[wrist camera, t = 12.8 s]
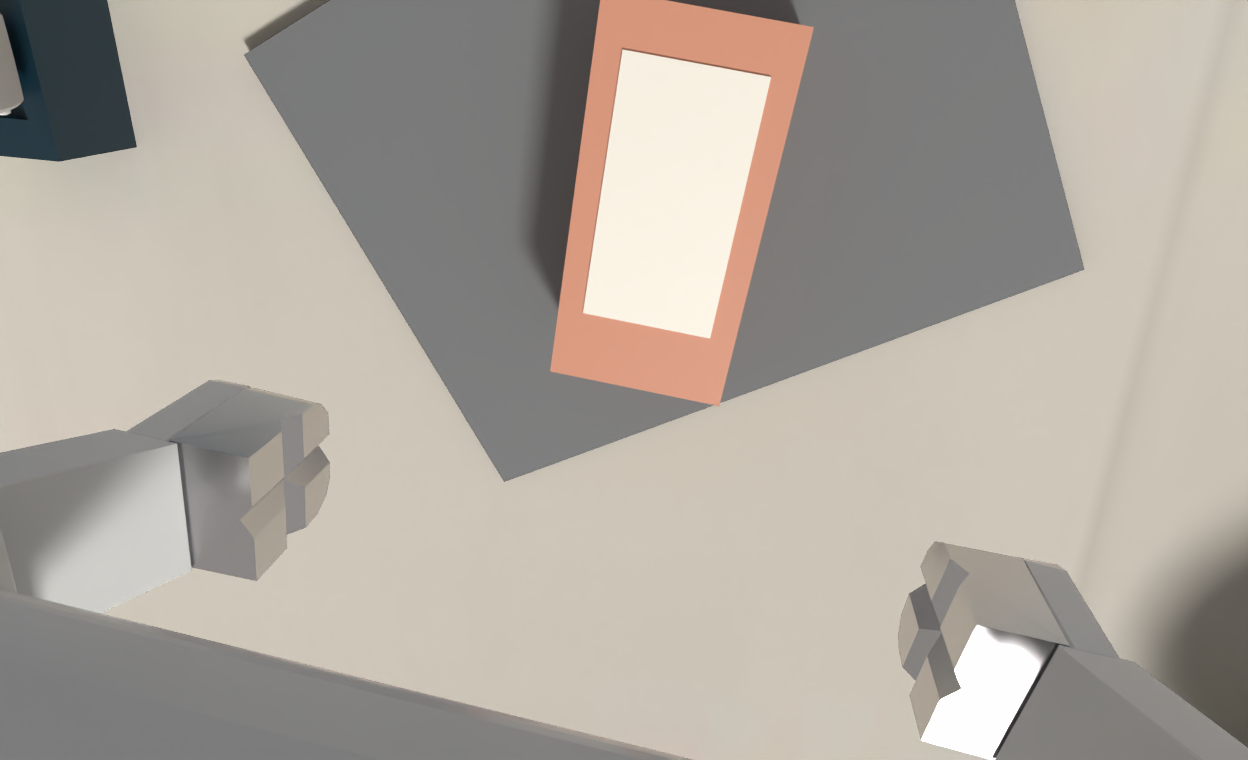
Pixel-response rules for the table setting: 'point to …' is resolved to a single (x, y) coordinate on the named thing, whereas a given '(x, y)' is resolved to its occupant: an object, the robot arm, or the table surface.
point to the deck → (673, 192)
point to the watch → (60, 81)
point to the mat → (547, 168)
